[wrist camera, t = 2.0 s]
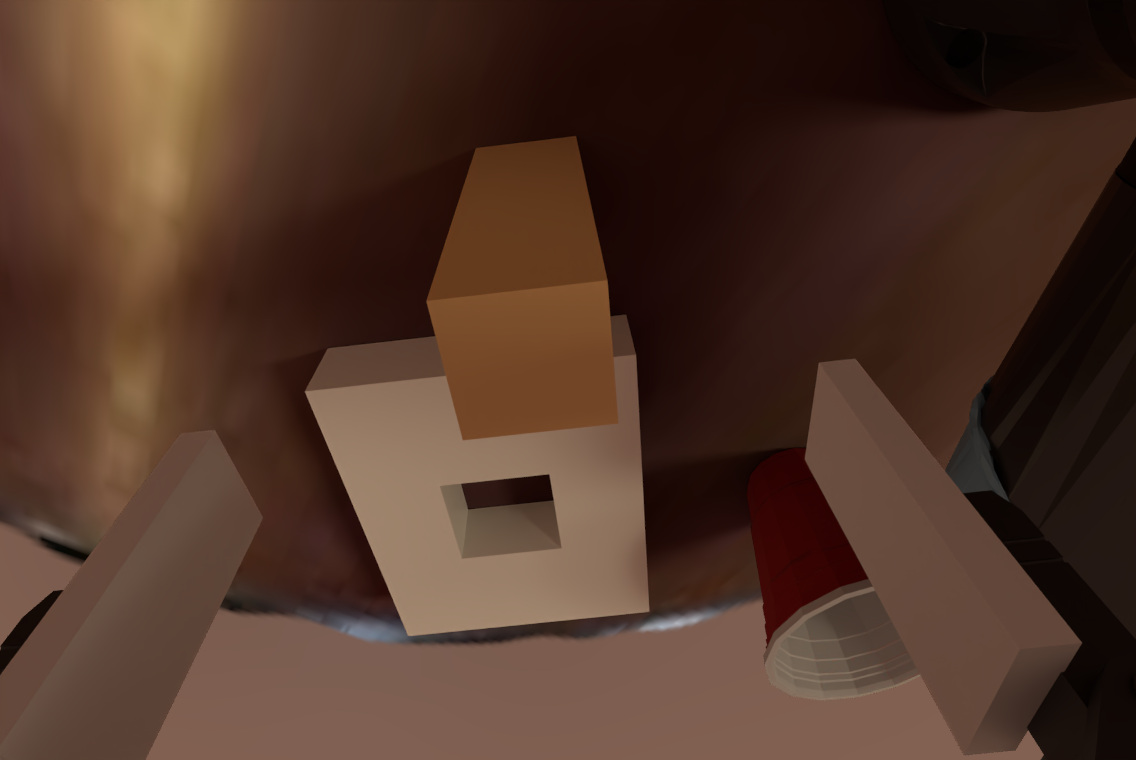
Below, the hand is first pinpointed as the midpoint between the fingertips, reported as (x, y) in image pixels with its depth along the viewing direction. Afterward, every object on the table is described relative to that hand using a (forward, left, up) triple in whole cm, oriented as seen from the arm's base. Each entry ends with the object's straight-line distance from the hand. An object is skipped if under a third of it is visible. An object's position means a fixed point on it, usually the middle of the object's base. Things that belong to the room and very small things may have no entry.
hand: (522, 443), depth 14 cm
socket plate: (+4, +17, -18) cm, 25 cm away
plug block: (0, 0, -18) cm, 18 cm away
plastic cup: (-14, +21, -18) cm, 31 cm away
